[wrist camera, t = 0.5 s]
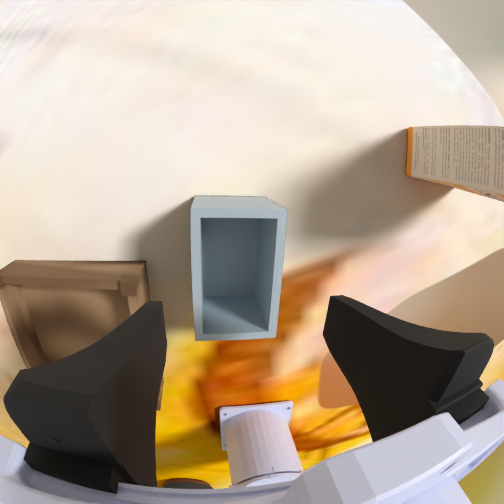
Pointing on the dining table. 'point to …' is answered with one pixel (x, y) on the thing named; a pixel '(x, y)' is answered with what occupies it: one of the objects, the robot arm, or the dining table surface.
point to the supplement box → (459, 157)
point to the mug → (186, 484)
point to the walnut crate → (69, 304)
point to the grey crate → (236, 266)
